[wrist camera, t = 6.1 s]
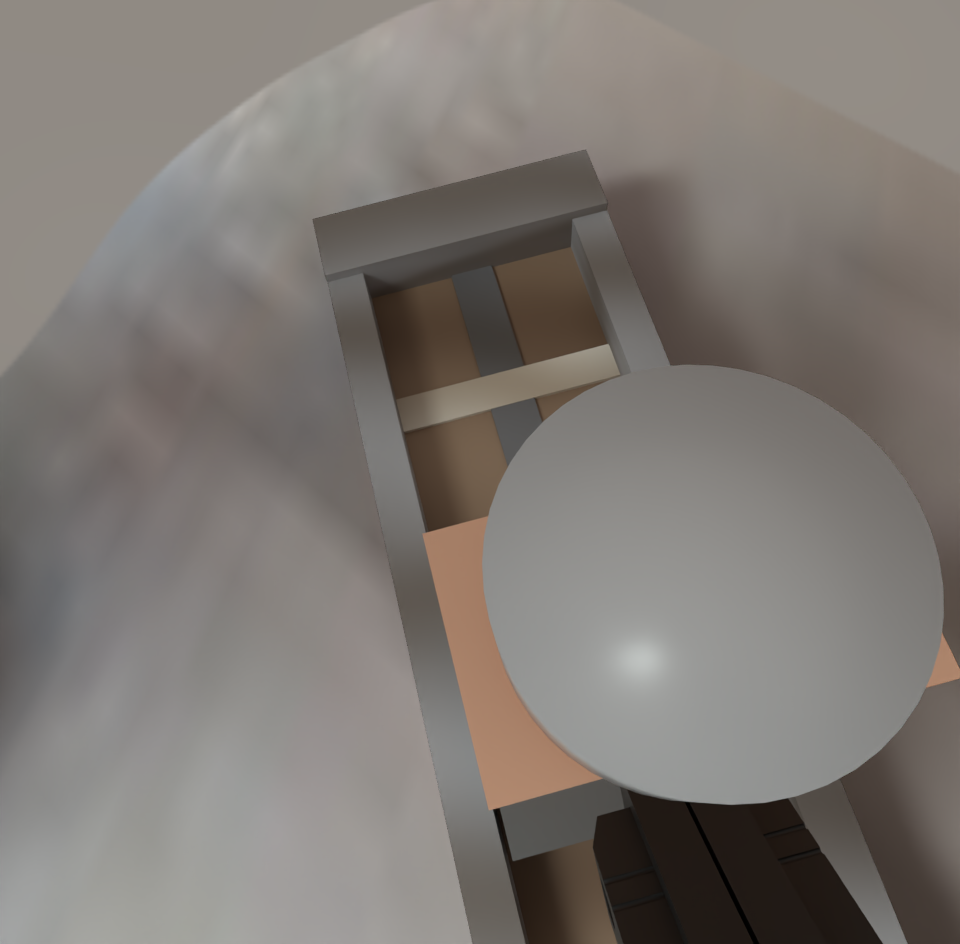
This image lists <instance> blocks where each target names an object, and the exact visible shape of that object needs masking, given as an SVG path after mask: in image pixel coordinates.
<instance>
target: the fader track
mask: <svg viewBox="0 0 960 944" xmlns="http://www.w3.org/2000/svg"><path fill="white" fill-rule="evenodd" d="M607 206H608V202H607V199H606V197H605V195H604V192H603V190H602V187H601V185H600V182H599V180H598V178H597V175H596V173H595V170H594V168H593V165H592V163H591V161H590V158H589V156H588V153H587V151H586V150H582V151H578V152H574V153H570V154H566V155H562V156H558V157H554V158H550V159H547V160H543V161H539V162H535V163H531V164H527V165H523V166H519V167H515V168H511V169H507V170H503V171H499V172H496V173H492V174H488V175H484V176H480V177H476V178H472V179H468V180H464V181H460V182H456V183H452V184H448V185H445V186H441V187H437V188H433V189H429V190H425V191H421V192H417V193H413V194H409V195H405V196H401V197H398V198H394V199H390V200H386V201H382V202H378V203H374V204H370V205H366V206H362V207H358V208H354V209H350V210H347V211H343V212H339V213H335V214H331V215H327V216H323V217H319V218H315V219H313V224H314V228H315V233H316V237H317V242H318V247H319V251H320V256H321V260H322V265H323V269H324V274H325V277H326V280H327V282H328V286H329V291H330V295H331V300H332V305H333V309H334V314H335V318H336V323H337V327H338V332H339V336H340V341H341V346H342V350H343V355H344V359H345V364H346V368H347V373H348V377H349V382H350V387H351V391H352V396H353V400H354V405H355V409H356V414H357V418H358V423H359V428H360V432H361V437H362V441H363V446H364V450H365V455H366V459H367V464H368V469H369V473H370V478H371V482H372V487H373V491H374V496H375V501H376V505H377V510H378V514H379V519H380V523H381V528H382V532H383V537H384V542H385V546H386V551H387V555H388V560H389V564H390V569H391V573H392V578H393V583H394V587H395V592H396V596H397V601H398V605H399V610H400V614H401V619H402V624H403V628H404V633H405V637H406V642H407V646H408V651H409V655H410V660H411V665H412V669H413V674H414V678H415V683H416V687H417V692H418V697H419V701H420V706H421V710H422V715H423V719H424V724H425V728H426V733H427V738H428V742H429V747H430V751H431V756H432V760H433V765H434V769H435V774H436V779H437V783H438V788H439V792H440V797H441V801H442V806H443V810H444V815H445V820H446V824H447V829H448V833H449V838H450V842H451V847H452V851H453V856H454V861H455V865H456V870H457V874H458V879H459V883H460V888H461V893H462V897H463V902H464V906H465V911H466V915H467V920H468V924H469V929H470V934H471V938H472V943H473V944H617V941H616V938H615V934H614V931H613V928H612V925H611V921H610V918H609V915H608V911H607V906H606V902H605V898H604V894H603V889H602V885H601V881H600V877H599V872H598V868H597V864H596V860H595V855H594V851H593V841H594V839H590V840H587V841H583V842H580V843H576V844H573V845H569V846H566V847H562V848H558V849H555V850H551V851H548V852H544V853H541V854H537V855H534V856H530V857H527V858H523V859H520V860H516V861H513V860H512V856H511V852H510V848H509V844H508V840H507V836H506V831H505V827H504V823H503V819H502V815H501V811H500V808H496V809H493V810H489V809H488V805H487V801H486V797H485V793H484V788H483V784H482V780H481V776H480V772H479V768H478V763H477V759H476V755H475V751H474V747H473V743H472V738H471V734H470V730H469V726H468V722H467V718H466V714H465V709H464V705H463V701H462V697H461V693H460V689H459V684H458V680H457V676H456V672H455V668H454V664H453V659H452V655H451V651H450V647H449V643H448V639H447V635H446V630H445V626H444V622H443V618H442V614H441V610H440V605H439V601H438V597H437V593H436V589H435V585H434V580H433V576H432V572H431V568H430V564H429V560H428V555H427V551H426V547H425V543H424V539H423V535H422V534H423V533H427V532H431V531H434V530H438V529H442V528H446V527H449V526H453V525H457V524H460V523H464V522H468V521H472V520H475V519H479V518H483V517H486V516H488V515H489V511H490V507H491V505H492V502H493V499H494V496H495V494H496V491H497V488H498V485H499V483H500V481H501V479H502V477H503V475H504V474H505V472H506V470H507V468H508V466H509V464H510V462H511V460H512V459H513V458H514V456H515V455H516V453H517V452H518V451H519V449H520V448H521V446H522V445H523V444H524V442H525V441H526V440H527V438H528V437H529V436H530V435H531V434H532V433H533V432H534V431H535V430H536V429H537V428H538V427H539V426H540V425H541V423H542V422H543V421H544V420H546V419H547V418H548V417H549V416H551V415H552V414H553V413H554V412H555V411H557V410H558V409H559V408H560V407H561V406H563V405H564V404H566V403H567V402H569V401H570V400H572V399H574V398H575V397H577V396H578V395H580V394H581V393H583V392H585V391H587V390H589V389H591V388H593V387H595V386H597V385H599V384H602V383H604V382H606V381H608V380H611V379H614V378H617V377H620V376H623V375H626V374H629V373H632V372H636V371H641V370H646V369H651V368H656V367H664V366H671V365H670V363H669V360H668V358H667V355H666V353H665V351H664V348H663V346H662V343H661V341H660V338H659V336H658V333H657V331H656V329H655V326H654V324H653V321H652V319H651V316H650V314H649V311H648V309H647V307H646V304H645V302H644V299H643V297H642V294H641V292H640V290H639V287H638V285H637V282H636V280H635V277H634V275H633V272H632V270H631V268H630V265H629V263H628V260H627V258H626V255H625V253H624V250H623V248H622V246H621V243H620V241H619V238H618V236H617V233H616V231H615V229H614V226H613V224H612V221H611V219H610V216H609V214H608V211H607ZM788 799H789V800H790V802H791V803H792V805H793V807H794V808H795V810H796V811H797V813H798V814H799V816H800V817H801V819H802V820H803V822H804V824H805V827H806V829H809V831H810V833H811V834H812V836H813V837H814V839H815V840H816V842H817V843H818V845H819V846H820V849H821V852H822V853H823V854H825V855H826V857H827V859H828V860H829V862H830V863H831V865H832V866H833V868H834V869H835V871H836V872H837V874H838V875H839V877H840V878H841V880H842V882H843V883H844V885H845V886H846V888H847V889H848V891H849V892H850V894H851V895H852V897H853V898H854V900H855V901H856V903H857V904H858V906H859V908H860V909H861V911H862V912H863V914H864V915H865V917H866V918H867V920H868V921H869V923H870V924H871V926H872V927H873V929H874V930H875V932H876V934H877V935H878V937H879V938H880V940H881V941H882V943H883V944H908V943H907V941H906V939H905V936H904V934H903V931H902V929H901V926H900V924H899V922H898V919H897V917H896V914H895V912H894V909H893V907H892V904H891V902H890V900H889V897H888V895H887V892H886V890H885V887H884V885H883V882H882V880H881V878H880V875H879V873H878V870H877V868H876V865H875V863H874V861H873V858H872V856H871V853H870V851H869V848H868V846H867V843H866V841H865V839H864V836H863V834H862V831H861V829H860V826H859V824H858V821H857V819H856V817H855V814H854V812H853V809H852V807H851V804H850V802H849V800H848V797H847V795H846V792H845V790H844V787H843V785H842V782H841V780H840V778H839V779H837V780H836V781H834V782H832V783H830V784H828V785H826V786H823V787H821V788H818V789H815V790H812V791H810V792H807V793H804V794H801V795H799V796H795V797H790V798H788Z"/></svg>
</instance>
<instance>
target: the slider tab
mask: <svg viewBox="0 0 960 944" xmlns="http://www.w3.org/2000/svg"><path fill="white" fill-rule="evenodd" d="M422 535H423V539H424V543H425V547H426V551H427V555H428V560H429V564H430V568H431V572H432V576H433V580H434V585H435V589H436V593H437V597H438V601H439V605H440V610H441V614H442V618H443V622H444V626H445V630H446V635H447V639H448V643H449V647H450V651H451V655H452V659H453V664H454V668H455V672H456V676H457V680H458V684H459V689H460V693H461V697H462V701H463V705H464V709H465V714H466V718H467V722H468V726H469V730H470V734H471V738H472V743H473V747H474V751H475V755H476V759H477V763H478V768H479V772H480V776H481V780H482V784H483V788H484V793H485V797H486V801H487V805H488V809H489V810H493V809H496V808H500V811H501V815H502V819H503V823H504V827H505V831H506V836H507V840H508V844H509V848H510V852H511V856H512V860H513V861H516V860H520V859H523V858H527V857H530V856H534V855H537V854H541V853H544V852H548V851H551V850H555V849H558V848H562V847H566V846H569V845H573V844H576V843H580V842H583V841H587V840H590V839H594V834H595V827H596V820H597V816H600V815H603V814H607V813H610V812H614V811H618V810H621V809H625V808H624V803H623V798H622V794H621V789H620V787H622V788H625V789H628V790H631V791H633V792H636V793H639V794H642V795H646V796H651V797H656V798H660V799H665V800H672V801H684V802H697V803H712V804H727V805H736V804H753V803H766V802H771V801H776V800H781V799H786V798H790V797H795V796H799V795H801V794H804V793H807V792H810V791H812V790H815V789H818V788H821V787H823V786H826V785H828V784H830V783H832V782H834V781H836V780H837V779H839V778H841V777H843V776H845V775H847V774H848V773H850V772H852V771H854V770H856V769H857V768H858V767H859V766H861V765H862V764H863V763H865V762H866V761H867V760H868V759H870V758H871V757H872V756H874V755H875V754H876V753H878V752H879V751H880V750H881V749H882V748H883V747H884V746H885V745H886V744H887V743H888V742H889V741H890V740H891V738H892V737H893V736H894V735H895V734H896V733H897V732H898V731H899V730H900V729H901V728H902V726H903V725H904V723H905V722H906V720H907V719H908V717H909V716H910V715H911V713H912V712H913V710H914V709H915V707H916V706H917V704H918V703H919V701H920V699H921V696H922V694H923V692H924V690H925V688H927V687H931V686H935V685H938V684H942V683H945V682H949V681H952V680H956V679H959V678H960V668H959V666H958V664H957V662H956V660H955V658H954V656H953V654H952V652H951V650H950V648H949V646H948V644H947V642H946V640H945V638H944V636H943V634H942V627H943V620H944V587H943V581H942V574H941V567H940V561H939V556H938V553H937V549H936V546H935V542H934V539H933V535H932V532H931V529H930V527H929V524H928V522H927V520H926V518H925V515H924V513H923V511H922V508H921V506H920V504H919V502H918V500H917V498H916V497H915V495H914V493H913V492H912V490H911V488H910V487H909V485H908V483H907V482H906V480H905V478H904V477H903V475H902V474H901V473H900V472H899V470H898V469H897V468H896V466H895V465H894V464H893V462H892V461H891V460H890V459H889V457H888V456H887V455H886V453H885V452H884V451H883V450H882V449H881V448H880V447H879V446H878V445H877V444H876V443H875V442H874V441H873V440H872V439H871V438H870V437H869V436H868V435H867V434H866V433H865V432H864V431H863V430H861V429H860V428H859V427H858V426H857V425H855V424H854V423H853V422H852V421H850V420H849V419H848V418H847V417H846V416H844V415H843V414H842V413H840V412H838V411H837V410H835V409H834V408H832V407H831V406H829V405H828V404H826V403H825V402H823V401H822V400H820V399H818V398H816V397H814V396H812V395H810V394H808V393H806V392H804V391H802V390H800V389H798V388H796V387H794V386H792V385H790V384H787V383H784V382H781V381H779V380H776V379H773V378H771V377H768V376H765V375H761V374H757V373H753V372H749V371H745V370H741V369H735V368H728V367H721V366H713V365H676V366H664V367H656V368H651V369H646V370H641V371H636V372H632V373H629V374H626V375H623V376H620V377H617V378H614V379H611V380H608V381H606V382H604V383H602V384H599V385H597V386H595V387H593V388H591V389H589V390H587V391H585V392H583V393H581V394H580V395H578V396H577V397H575V398H574V399H572V400H570V401H569V402H567V403H566V404H564V405H563V406H561V407H560V408H559V409H558V410H557V411H555V412H554V413H553V414H552V415H551V416H549V417H548V418H547V419H546V420H544V421H543V422H542V423H541V425H540V426H539V427H538V428H537V429H536V430H535V431H534V432H533V433H532V434H531V435H530V436H529V437H528V438H527V440H526V441H525V442H524V444H523V445H522V446H521V448H520V449H519V451H518V452H517V453H516V455H515V456H514V458H513V459H512V460H511V462H510V464H509V466H508V468H507V470H506V472H505V474H504V475H503V477H502V479H501V481H500V483H499V485H498V488H497V491H496V494H495V496H494V499H493V502H492V505H491V507H490V511H489V515H488V516H486V517H483V518H479V519H475V520H472V521H468V522H464V523H460V524H457V525H453V526H449V527H446V528H442V529H438V530H434V531H431V532H427V533H423V534H422Z"/></svg>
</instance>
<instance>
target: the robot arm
mask: <svg viewBox="0 0 960 944" xmlns="http://www.w3.org/2000/svg"><path fill="white" fill-rule="evenodd" d="M620 789H621V794H622V798H623V803H624V808H625V809H621V810H618V811H614V812H610V813H607V814H603V815H600V816H597V820H596V827H595V834H594V841H593V851H594V855H595V860H596V864H597V868H598V872H599V877H600V881H601V885H602V889H603V894H604V898H605V902H606V906H607V911H608V915H609V918H610V921H611V925H612V928H613V931H614V934H615V938H616V941H617V944H883V943H882V941H881V940H880V938H879V937H878V935H877V934H876V932H875V930H874V929H873V927H872V926H871V924H870V923H869V921H868V920H867V918H866V917H865V915H864V914H863V912H862V911H861V909H860V908H859V906H858V904H857V903H856V901H855V900H854V898H853V897H852V895H851V894H850V892H849V891H848V889H847V888H846V886H845V885H844V883H843V882H842V880H841V878H840V877H839V875H838V874H837V872H836V871H835V869H834V868H833V866H832V865H831V863H830V862H829V860H828V859H827V857H826V855H825V854H823V853H822V852H821V849H820V846H819V845H818V843H817V842H816V840H815V839H814V837H813V836H812V834H811V833H810V831H809V829H806V827H805V824H804V822H803V820H802V819H801V817H800V816H799V814H798V813H797V811H796V810H795V808H794V807H793V805H792V803H791V802H790V800H789V799H788V798H786V799H781V800H776V801H771V802H766V803H753V804H736V805H727V804H712V803H697V802H684V801H672V800H665V799H660V798H656V797H651V796H646V795H642V794H639V793H636V792H633V791H631V790H628V789H625V788H622V787H620Z"/></svg>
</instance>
